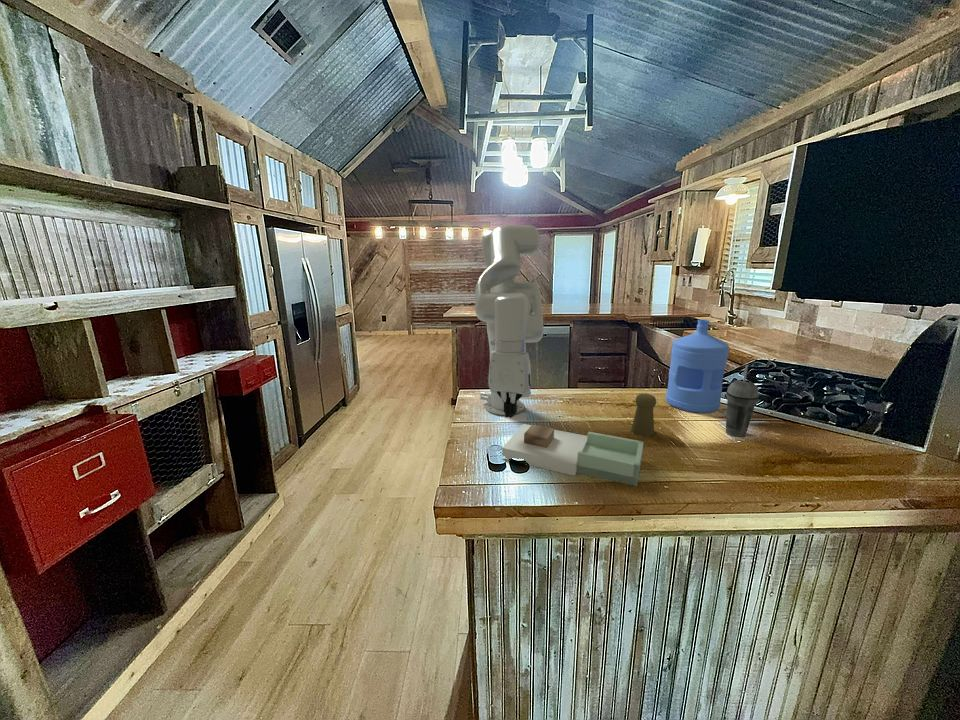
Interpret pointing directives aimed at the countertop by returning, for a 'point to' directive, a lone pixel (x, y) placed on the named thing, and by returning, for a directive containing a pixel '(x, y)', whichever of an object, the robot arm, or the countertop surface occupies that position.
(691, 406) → the water jug
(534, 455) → the white flat slab
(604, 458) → the box
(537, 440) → the walnut tile
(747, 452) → the countertop surface
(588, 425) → the countertop surface
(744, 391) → the beverage cup
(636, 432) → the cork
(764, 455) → the countertop surface
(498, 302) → the robot arm
